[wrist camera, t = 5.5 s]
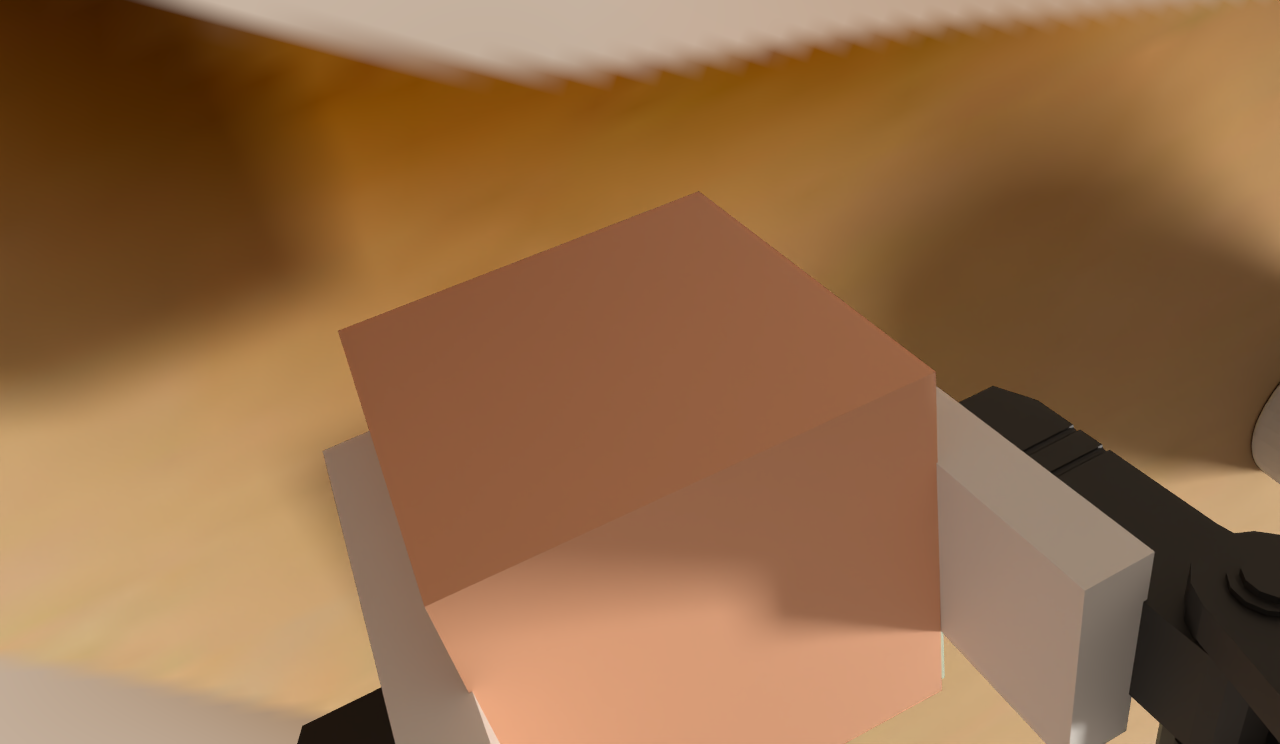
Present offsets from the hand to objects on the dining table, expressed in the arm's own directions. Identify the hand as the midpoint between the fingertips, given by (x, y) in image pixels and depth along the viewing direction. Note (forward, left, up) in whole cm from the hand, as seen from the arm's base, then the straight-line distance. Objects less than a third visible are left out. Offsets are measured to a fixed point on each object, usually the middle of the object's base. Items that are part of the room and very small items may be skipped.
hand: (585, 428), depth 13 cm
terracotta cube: (0, 0, -1) cm, 1 cm away
